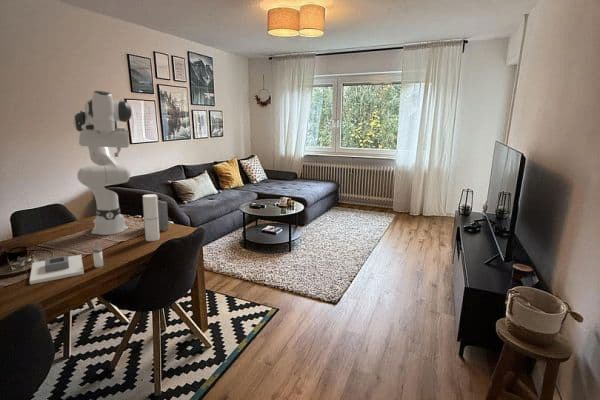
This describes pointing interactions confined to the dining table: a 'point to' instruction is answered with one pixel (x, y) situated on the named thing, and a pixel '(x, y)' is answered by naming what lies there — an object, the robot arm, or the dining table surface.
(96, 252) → the plug
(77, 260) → the socket block
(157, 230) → the cylindrical container
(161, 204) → the hip flask
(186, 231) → the dining table surface
